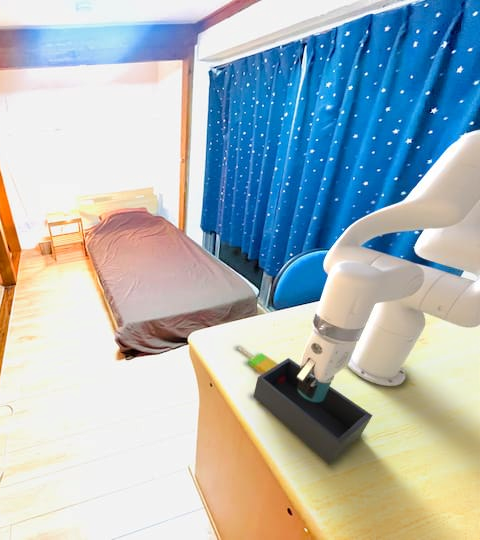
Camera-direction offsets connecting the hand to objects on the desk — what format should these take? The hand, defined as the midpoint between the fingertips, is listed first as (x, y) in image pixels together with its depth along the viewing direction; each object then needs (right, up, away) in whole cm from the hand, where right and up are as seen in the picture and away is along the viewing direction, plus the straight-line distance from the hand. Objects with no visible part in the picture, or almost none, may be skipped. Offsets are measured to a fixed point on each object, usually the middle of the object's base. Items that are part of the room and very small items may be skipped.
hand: (313, 386), depth 62 cm
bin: (+1, -9, +5) cm, 10 cm away
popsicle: (-2, -2, +19) cm, 20 cm away
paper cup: (0, -2, +1) cm, 2 cm away
